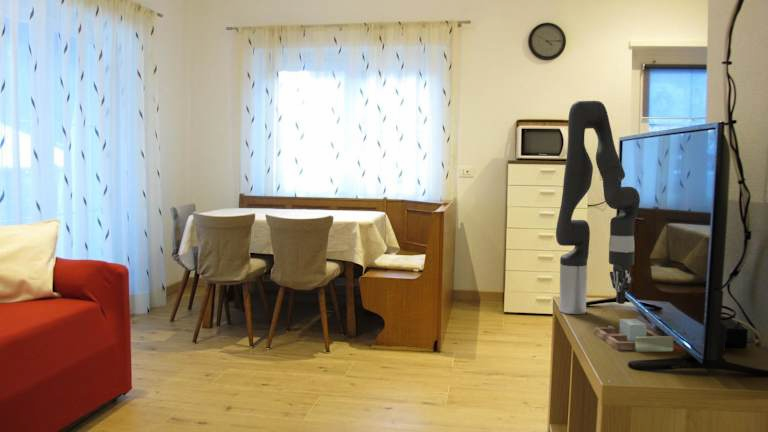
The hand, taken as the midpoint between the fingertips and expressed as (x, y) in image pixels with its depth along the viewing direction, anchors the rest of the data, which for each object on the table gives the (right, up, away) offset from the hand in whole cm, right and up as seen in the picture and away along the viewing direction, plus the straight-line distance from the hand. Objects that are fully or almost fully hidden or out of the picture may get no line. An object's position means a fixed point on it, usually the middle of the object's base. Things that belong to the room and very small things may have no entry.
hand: (620, 303), depth 190 cm
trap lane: (-2, -10, -12) cm, 15 cm away
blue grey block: (+1, -9, -8) cm, 12 cm away
